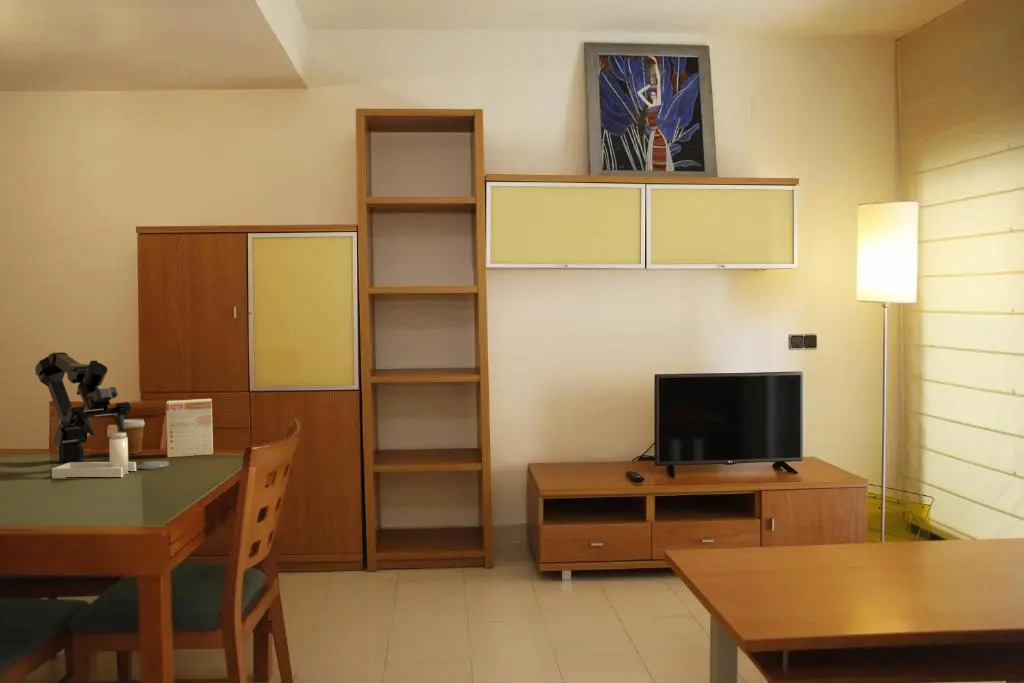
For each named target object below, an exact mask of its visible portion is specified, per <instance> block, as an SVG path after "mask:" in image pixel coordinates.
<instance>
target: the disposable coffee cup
mask: <svg viewBox="0 0 1024 683" xmlns="http://www.w3.org/2000/svg"><path fill="white" fill-rule="evenodd" d="M145 425H146V422H145V420H144V419H143V418H130V419H129V418H128V419H127V418H125V419H124V431H123V432H125V433H126V436H127V437H128V456H131V455H130V454H137V453H139V452H141V453H142V449H143V448H142V447H143V446H142V445H143V438H144V427H145ZM115 427H116V428H117V433H118V432H121V430H120V429H119V428H118V426H117V424H116V423H115ZM137 455H138V454H137Z"/></svg>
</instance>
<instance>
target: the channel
mask: <svg viewBox="0 0 1024 683" xmlns="http://www.w3.org/2000/svg"><path fill="white" fill-rule="evenodd" d="M136 464H137V462H136V461H128V471H136V472H137V469H136ZM66 477H122V478H124V476H123V467H118V468H110V461H91V462H90V461H89V462H88V461H86V462H85V461H79V462H69V463H62V465H58V466H55V467H52V468H51V479H67V478H66Z"/></svg>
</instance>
